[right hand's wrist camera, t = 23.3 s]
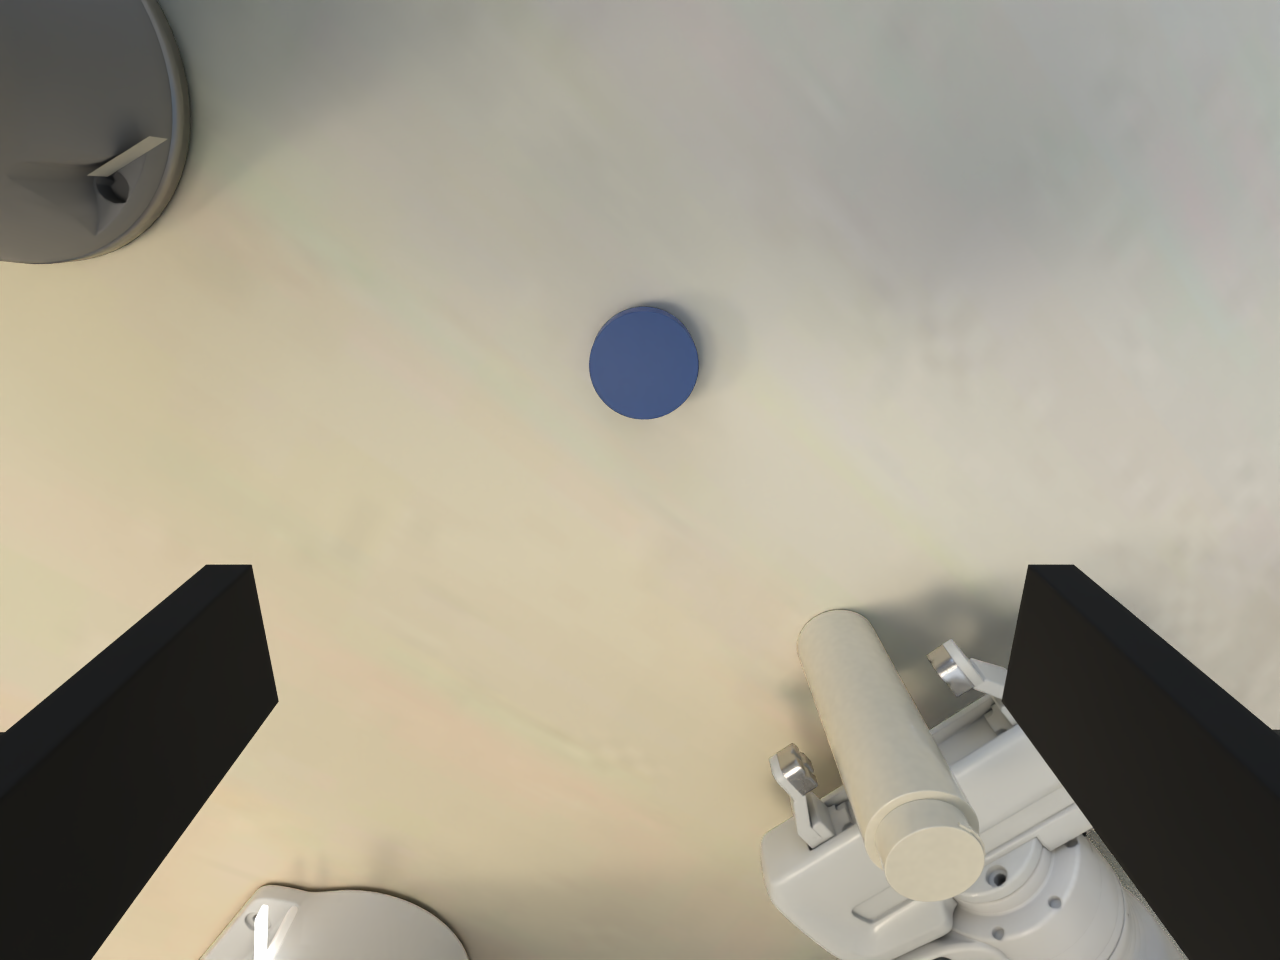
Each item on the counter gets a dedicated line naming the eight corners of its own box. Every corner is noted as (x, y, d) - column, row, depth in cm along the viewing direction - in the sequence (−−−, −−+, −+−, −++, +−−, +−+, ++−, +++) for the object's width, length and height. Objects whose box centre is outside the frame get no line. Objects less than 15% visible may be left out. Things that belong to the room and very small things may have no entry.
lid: (676, 290, 36) (677, 294, 35) (710, 390, 38) (713, 398, 36) (575, 328, 37) (572, 333, 35) (613, 424, 39) (612, 434, 37)
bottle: (845, 690, 44) (945, 925, 30) (781, 656, 43) (851, 882, 29) (892, 631, 43) (1020, 848, 28) (826, 596, 42) (923, 800, 28)
